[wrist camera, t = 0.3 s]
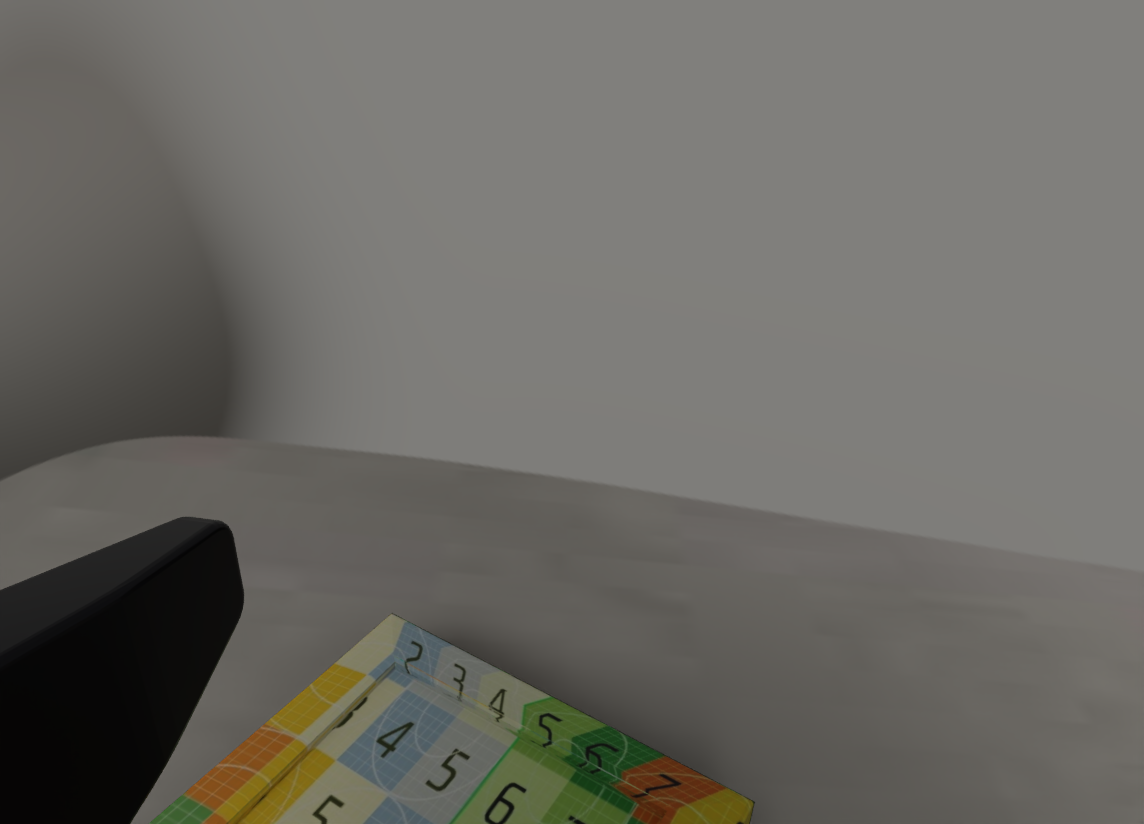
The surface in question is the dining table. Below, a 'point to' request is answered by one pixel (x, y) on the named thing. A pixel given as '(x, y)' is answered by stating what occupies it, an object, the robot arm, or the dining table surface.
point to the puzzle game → (443, 753)
